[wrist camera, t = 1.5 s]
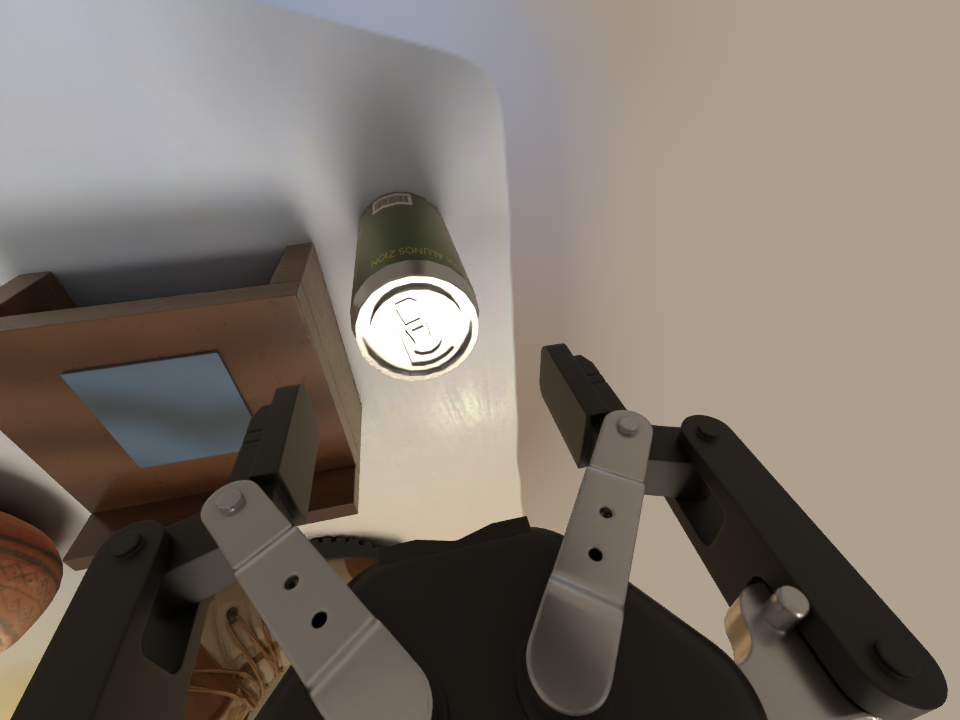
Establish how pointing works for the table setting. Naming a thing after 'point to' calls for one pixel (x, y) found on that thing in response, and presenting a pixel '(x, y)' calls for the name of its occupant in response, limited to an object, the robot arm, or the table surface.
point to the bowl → (25, 577)
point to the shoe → (251, 643)
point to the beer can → (410, 291)
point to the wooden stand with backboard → (172, 392)
